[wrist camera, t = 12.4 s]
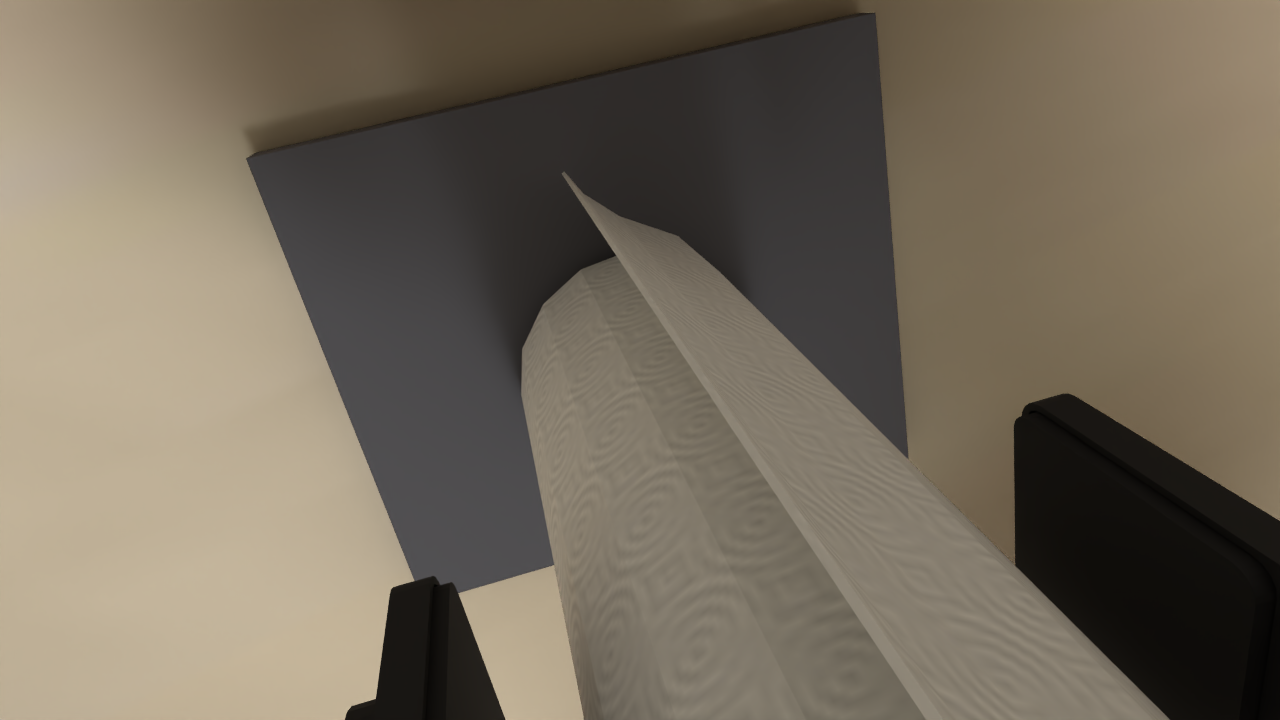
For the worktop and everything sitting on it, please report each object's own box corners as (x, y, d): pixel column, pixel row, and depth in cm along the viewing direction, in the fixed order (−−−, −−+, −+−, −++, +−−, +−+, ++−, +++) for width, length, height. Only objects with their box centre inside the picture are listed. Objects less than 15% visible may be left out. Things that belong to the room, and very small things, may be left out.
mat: (859, 12, 19) (875, 12, 18) (895, 448, 24) (908, 461, 23) (255, 153, 18) (246, 158, 17) (425, 584, 22) (423, 603, 22)
